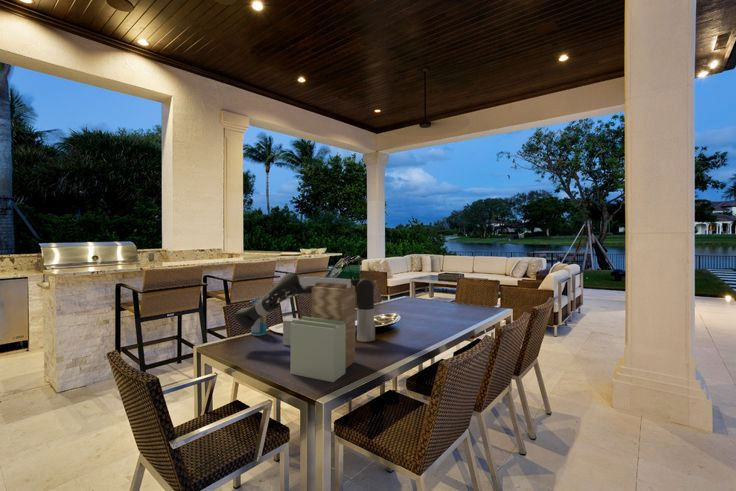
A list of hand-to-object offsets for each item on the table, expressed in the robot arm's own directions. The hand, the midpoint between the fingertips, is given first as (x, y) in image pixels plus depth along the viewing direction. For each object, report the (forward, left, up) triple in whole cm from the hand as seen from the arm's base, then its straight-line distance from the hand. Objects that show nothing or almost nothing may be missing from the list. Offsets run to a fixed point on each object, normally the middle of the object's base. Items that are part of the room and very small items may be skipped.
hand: (290, 291), depth 166 cm
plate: (-1, -47, -31) cm, 56 cm away
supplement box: (0, -19, -31) cm, 36 cm away
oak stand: (-19, +14, -30) cm, 38 cm away
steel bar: (-15, +12, +4) cm, 19 cm away
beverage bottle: (+19, -41, -31) cm, 55 cm away
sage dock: (-11, +24, -30) cm, 41 cm away
